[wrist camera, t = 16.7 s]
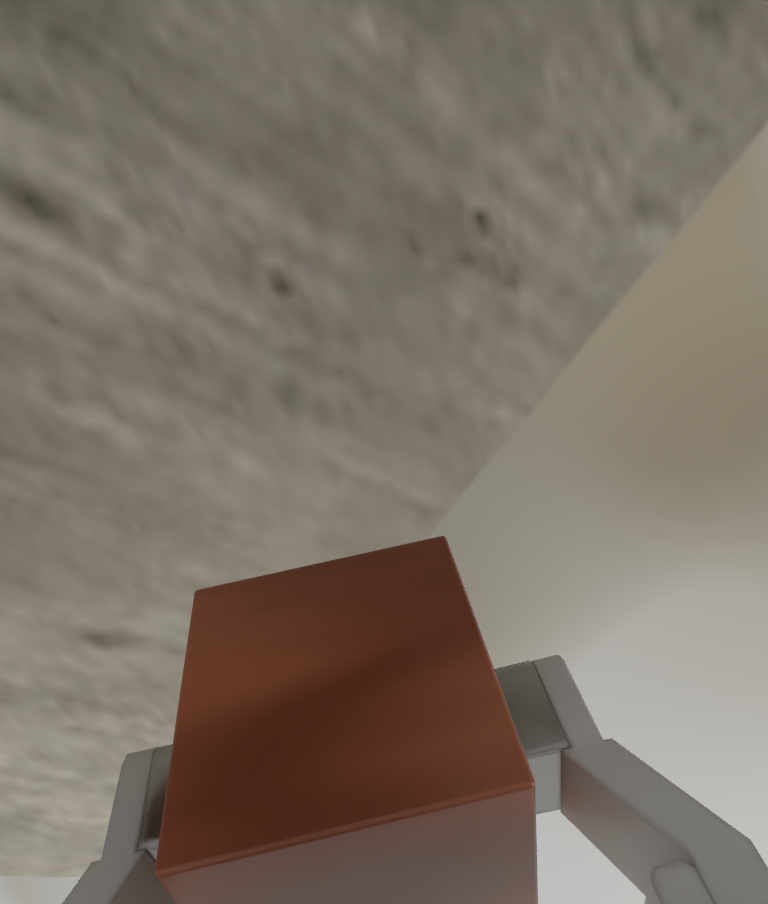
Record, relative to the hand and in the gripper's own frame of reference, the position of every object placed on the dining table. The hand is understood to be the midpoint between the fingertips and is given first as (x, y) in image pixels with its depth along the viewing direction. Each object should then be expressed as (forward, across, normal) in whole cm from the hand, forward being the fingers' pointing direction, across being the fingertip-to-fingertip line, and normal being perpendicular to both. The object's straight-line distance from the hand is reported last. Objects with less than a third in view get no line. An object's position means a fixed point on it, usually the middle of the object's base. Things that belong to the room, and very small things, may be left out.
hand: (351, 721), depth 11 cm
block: (+2, 0, 0) cm, 2 cm away
